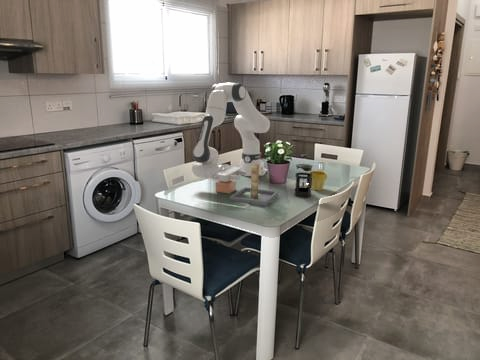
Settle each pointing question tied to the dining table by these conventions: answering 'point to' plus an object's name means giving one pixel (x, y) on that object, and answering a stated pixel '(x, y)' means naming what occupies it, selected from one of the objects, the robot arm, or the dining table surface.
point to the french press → (300, 189)
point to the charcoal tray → (262, 199)
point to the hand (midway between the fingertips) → (242, 175)
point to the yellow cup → (318, 179)
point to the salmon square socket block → (226, 186)
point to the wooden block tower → (254, 180)
